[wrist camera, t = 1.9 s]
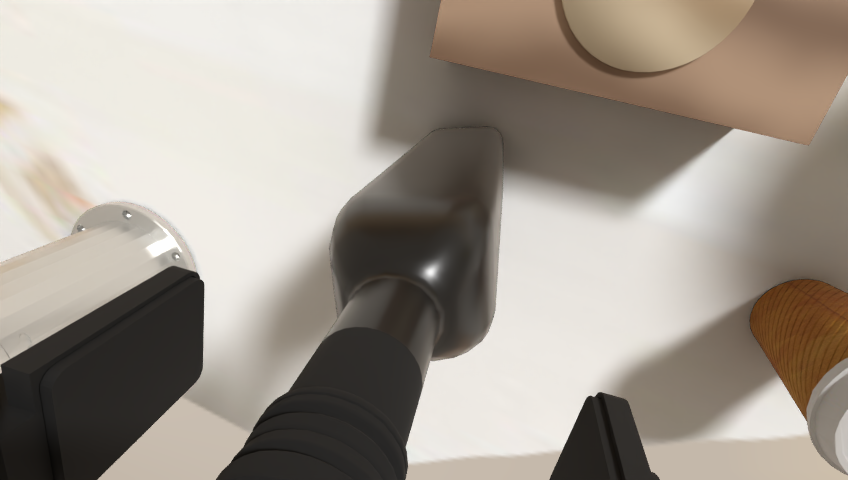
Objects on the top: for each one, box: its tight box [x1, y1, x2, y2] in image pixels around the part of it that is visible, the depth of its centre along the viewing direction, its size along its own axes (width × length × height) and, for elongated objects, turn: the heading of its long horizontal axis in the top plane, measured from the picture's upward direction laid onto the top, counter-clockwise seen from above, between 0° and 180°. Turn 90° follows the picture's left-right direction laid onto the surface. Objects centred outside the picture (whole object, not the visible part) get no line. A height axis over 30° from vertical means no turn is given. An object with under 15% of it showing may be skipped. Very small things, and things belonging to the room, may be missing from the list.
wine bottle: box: [216, 127, 503, 480], centre depth 21 cm, size 6×6×30 cm
